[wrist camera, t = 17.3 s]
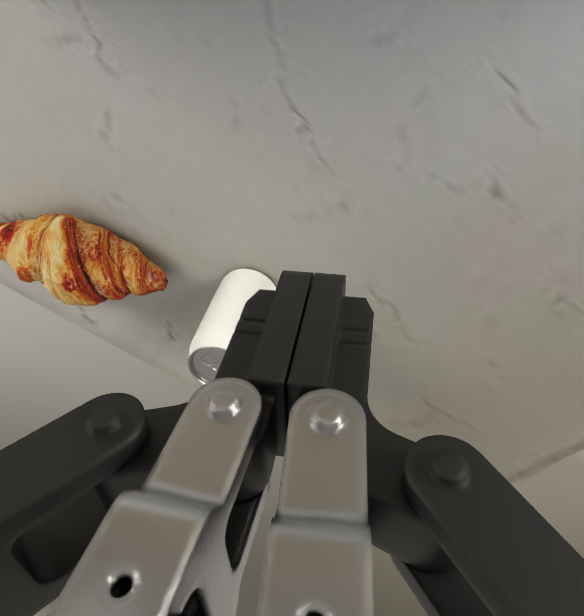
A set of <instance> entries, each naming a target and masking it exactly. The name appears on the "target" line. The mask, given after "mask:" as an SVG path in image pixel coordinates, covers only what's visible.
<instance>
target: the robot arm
mask: <svg viewBox="0 0 584 616" xmlns="http://www.w3.org/2000/svg"><path fill="white" fill-rule="evenodd" d="M345 286H346V275H337V274H324V273H315V275H314V273H310V272H297V271H284V270H283V271H282V274H281V276H280V279H279V282H278V285H277V288H276V291H275V290H263V289H260V290H259V291H257V292H256V293H255V294H254V295H253V296H252V297H251V298H250V299H249V300H247V301H246V303H245V306H244V308H243V311H242V313H241V315H240V320H238V323H237V325H236V328H235V332H234V333H233V335H232V337H231V340H230V342H229V345H228V347H227V350H226V352H225V354H224V357H223V359H222V362H221V364H220V367H219V369H218V371H217V374H216V376H215V379H214V380H212V381H210V382H208V383H206V384H204V385H203V386H201V387H200V388H199V389H197V390H196V392H195V393H194V394H193V396H192V397H191V398H190V400H189V402H187V403H183V404H180V405H176V406H170V407H163V408H157V409H150V410H144V408H143V405H142V404H141V402H140V401H139V400H138V399H137V398H135V397H133V396H132V395H129V394H124V393H111V394H105V395H102V396H99V397H96V398H94V399H92V400H90V401H88V402H86V403H85V404H83V405H81V406H79V407H77V408H76V409H74V410H72V411H70V412H68V413H67V414H65V415H63V416H61V417H59V418H58V419H56V420H54V421H52V422H51V423H49V424H47V425H45V426H43V427H41V428H40V429H38V430H36V431H34V432H32V433H31V434H29V435H27V436H25V437H23V438H22V439H20V440H18V441H16V442H14V443H13V444H11V445H9V446H7V447H5V448H4V449H2V450H0V616H33V615H34V614H36V613H37V612H38V611H40V610H41V609H42V608H44V607H45V606H47V605H48V604H49V603H51V602H52V601H53V600H55V599H56V598H57V597H58V599H57V600H56V602H55V604H54V606H53V607H52V609H51V611H50V612H49V614H48V616H235V615H236V610H237V605H238V597H239V587H240V581H241V577H242V574H243V571H244V568H245V564H246V561H247V558H248V555H249V552H250V549H251V545H252V542H253V539H254V536H255V533H256V530H257V527H258V524H259V521H260V517H261V514H262V511H263V507H264V505H265V502H266V499H267V495H268V492H269V488H270V477H271V473H272V468H273V464H274V460H275V456H283V457H284V460H283V468H282V475H281V482H280V490H279V497H278V504H277V510H276V515H275V517H273V518H272V521H271V524H270V529H269V534H268V540H267V547H266V554H265V561H264V568H263V575H262V583H261V589H260V597H259V603H258V610H257V616H373V577H372V545H374V546H376V547H377V548H379V549H381V550H383V551H385V552H387V553H389V554H390V556H391V558H392V561H393V563H394V564H395V566H396V568H397V569H398V571H399V572H400V574H401V575H402V577H403V578H404V580H405V581H406V582H407V584H408V586H409V587H410V589H411V590H412V591H413V593H414V595H415V596H416V597H417V599H418V601H419V602H420V604H421V605H422V606H423V608H424V610H425V611H426V613H427V614H428V615H429V616H584V559H583V558H582V557H581V556H580V555H579V554H578V553H577V552H576V550H574V548H573V547H572V546H571V545H570V544H569V543H568V542H567V541H566V540H564V538H563V537H562V536H561V535H560V534H559V533H558V532H557V531H556V530H555V529H554V528H553V527H552V526H551V525H550V524H549V523H548V522H547V521H546V520H545V519H544V518H543V517H542V516H541V515H540V514H539V513H538V512H537V511H536V510H535V509H534V507H533V506H532V505H530V504H529V502H527V501H526V499H525V498H524V497H523V496H522V495H521V494H520V493H519V492H518V491H517V490H516V489H515V488H514V487H513V486H512V485H511V484H510V483H509V482H508V481H507V480H506V479H505V478H504V477H503V476H502V475H501V474H500V473H499V472H498V471H497V470H496V469H495V468H494V467H493V466H492V465H491V463H490V462H489V461H488V460H487V459H486V458H485V457H484V456H483V455H482V454H481V453H480V452H479V451H477V450H476V449H475V448H474V447H473V446H471V445H470V444H468V443H466V442H464V441H462V440H460V439H457V438H455V437H451V436H445V435H433V436H428V437H425V438H422V439H420V440H419V441H417V442H413V441H411V440H409V439H406V438H404V437H402V436H399V435H397V434H395V433H393V432H391V431H389V430H388V429H386V428H385V427H383V426H382V425H381V424H380V423H379V422H378V421H377V420H376V419H375V418H374V416H373V414H372V413H371V411H370V408H369V406H368V401H367V394H368V381H369V368H370V355H371V342H372V329H373V316H374V313H373V311H372V309H371V307H370V305H369V303H368V302H367V300H366V298H358V297H346V296H345Z"/></svg>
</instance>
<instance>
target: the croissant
mask: <svg viewBox="0 0 584 616" xmlns="http://www.w3.org/2000/svg"><path fill="white" fill-rule="evenodd" d="M0 259H3V260H5V261H7V264H9V265H10V266H11V267H12V268H13V269H14V271H15V273H16V274H17V276H18V278H19V279H20V280H21V281H25V282H33V281H41V283H43V284H44V285H45V287H46V289H47V290H48V292H49V293H50V294H51V295H53V296H54V297H55V298H57V299H59V300H61V301H62V302H63V303H64V304H65V303H67V304H71V305H84V306H93V305H97V304H99V303H102V302H104V301H106V300H108V299H111V300H120V299H122V298H124V297H126V296H127V295H128V294H130V293H133V294H134V295H146V294H149V293H152V292H156V291H164V290H165V288H166V286H167V283H168V280H167V278H166V275H165V273H164V272H163V271H162V269H161V268H159V267H158V266H156V265H155V264H154V263H153V262H151V261H150V260H148V259H147V258H146V257H145V255H144V254H143V253H142V251H140V250H139V249H138V248H137V247H136V246H135V245H133V244H131V243H130V242H129V241H125V240H123V239H121V238H119V237H117V236H116V235H115V234H114V233H112V232H111V231H110V230H108V229H105V228H103V227H100V226H97V225H95V224H89V223H87V222H85V221H84V220H81V219H79V218H75V217H73V216H72V215H66V214H61V215H59V214H46V215H41V216H39V217H38V218H37V219H27V220H23V219H20V220H17V221H13V222H11V223H0Z"/></svg>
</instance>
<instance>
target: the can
mask: <svg viewBox="0 0 584 616" xmlns="http://www.w3.org/2000/svg"><path fill="white" fill-rule="evenodd" d="M260 289H263V290H275V291H276V287H275V285H274V284H273V282H272V281H271V280H270V279H269V278H268V277H267V276H265V275H264V274H262V273H260V272H258V271H255V270H252V269H237V270H234V271H232V272H230V273H228V274H227V275H226V276H225V277H224V278H223V280H222V282H221V284H220V286H219V288H218V290H217V291H216V293H215V295H214V297H213V299H212V301H211V303H210V305H209V307H208V309H207V311H206V313H205V315H204V317H203V319H202V321H201V323H200V326H199V328H198V330H197V332H196V334H195V336H194V338H193V340H192V342H191V345H190V356H189V359H188V367H189V370H190V372H191V374H192V375H193V376H194V377H195V378H196V379H197V380H198V381H199V382H200V383H202V384H203V385H204V384H206V383H208V382H210V381H212V380H214V379H215V376H216V374H217V371H218V369H219V367H220V364H221V362H222V359H223V357H224V354H225V352H226V350H227V347H228V345H229V342H230V340H231V337H232V335H233V333H234V332H235V328H236V325H237V323H238V320H240V315H241V313H242V311H243V308H244V306H245V303H246V301H247V300H249V299H250V298H251V297H252V296H253V295H254V294H255V293H256V292H257V291H259V290H260Z"/></svg>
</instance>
